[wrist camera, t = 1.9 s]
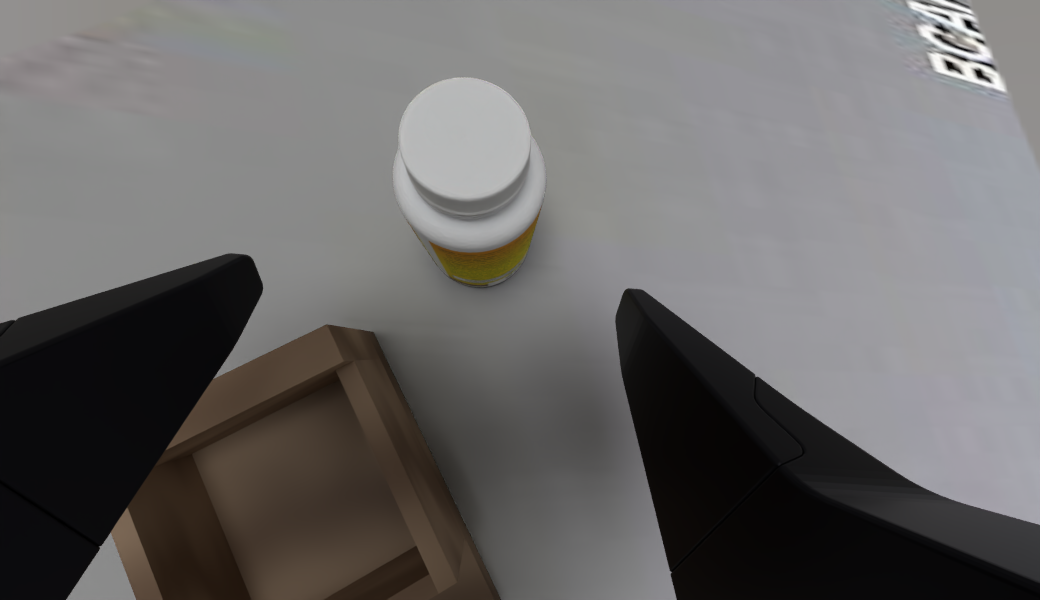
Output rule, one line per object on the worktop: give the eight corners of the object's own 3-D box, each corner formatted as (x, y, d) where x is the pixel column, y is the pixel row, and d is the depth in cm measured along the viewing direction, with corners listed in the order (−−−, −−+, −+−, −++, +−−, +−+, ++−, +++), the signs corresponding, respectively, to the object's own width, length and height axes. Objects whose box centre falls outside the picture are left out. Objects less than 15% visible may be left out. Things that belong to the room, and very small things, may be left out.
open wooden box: (500, 598, 18) (502, 703, 13) (301, 722, 17) (210, 895, 12) (373, 332, 20) (326, 324, 14) (180, 427, 18) (48, 458, 13)
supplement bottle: (548, 245, 21) (597, 147, 11) (475, 309, 20) (456, 266, 10) (483, 175, 21) (473, 18, 11) (409, 236, 21) (327, 125, 11)
